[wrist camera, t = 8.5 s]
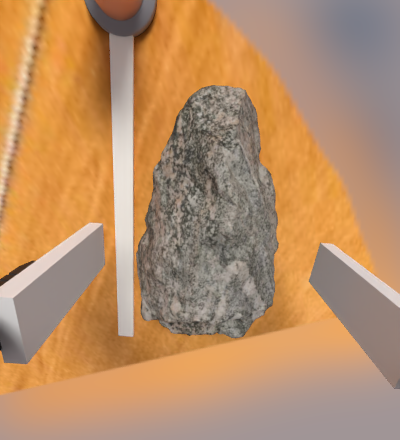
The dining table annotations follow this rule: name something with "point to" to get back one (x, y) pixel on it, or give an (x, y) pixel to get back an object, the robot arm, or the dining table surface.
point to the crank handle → (123, 134)
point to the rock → (210, 221)
